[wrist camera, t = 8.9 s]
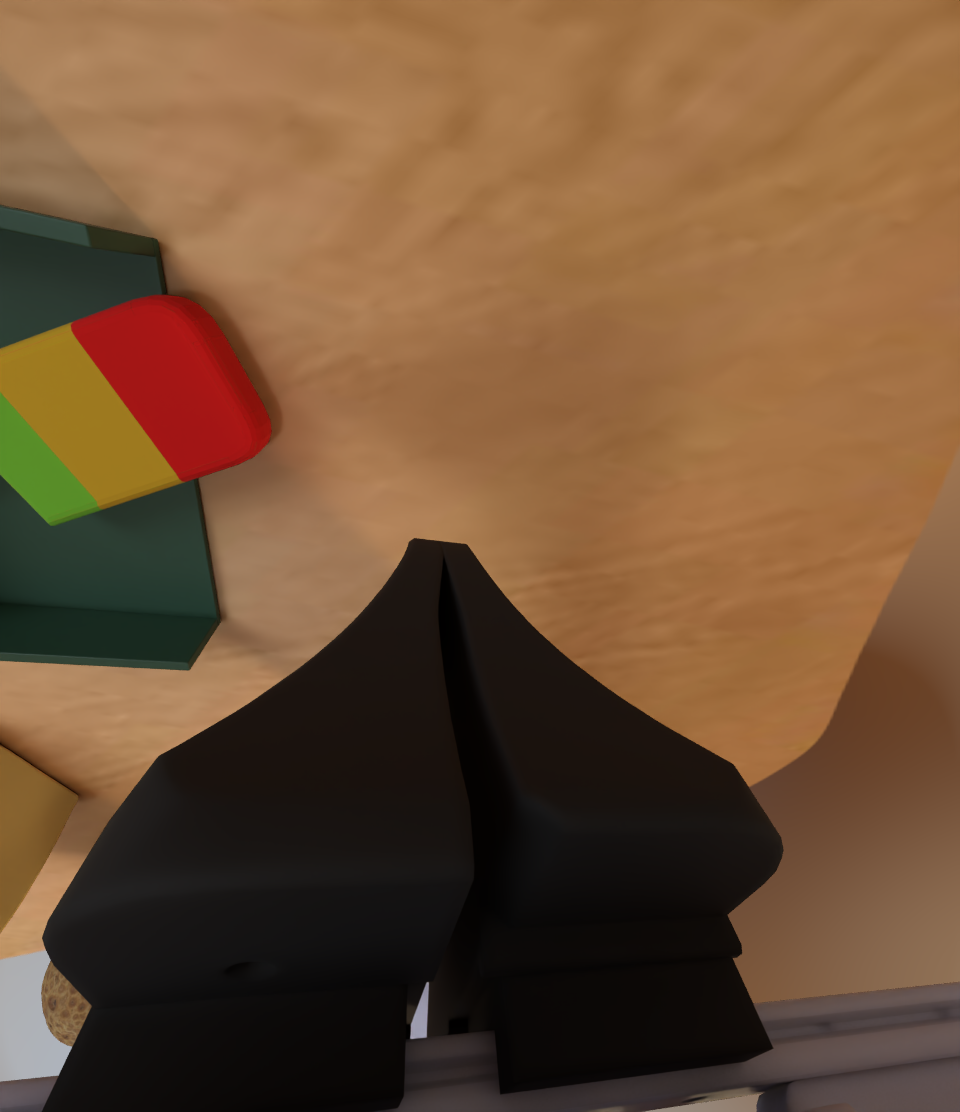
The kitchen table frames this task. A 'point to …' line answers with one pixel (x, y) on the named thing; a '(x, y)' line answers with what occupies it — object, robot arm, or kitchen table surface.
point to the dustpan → (110, 534)
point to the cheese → (27, 826)
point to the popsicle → (123, 407)
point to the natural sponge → (63, 1006)
